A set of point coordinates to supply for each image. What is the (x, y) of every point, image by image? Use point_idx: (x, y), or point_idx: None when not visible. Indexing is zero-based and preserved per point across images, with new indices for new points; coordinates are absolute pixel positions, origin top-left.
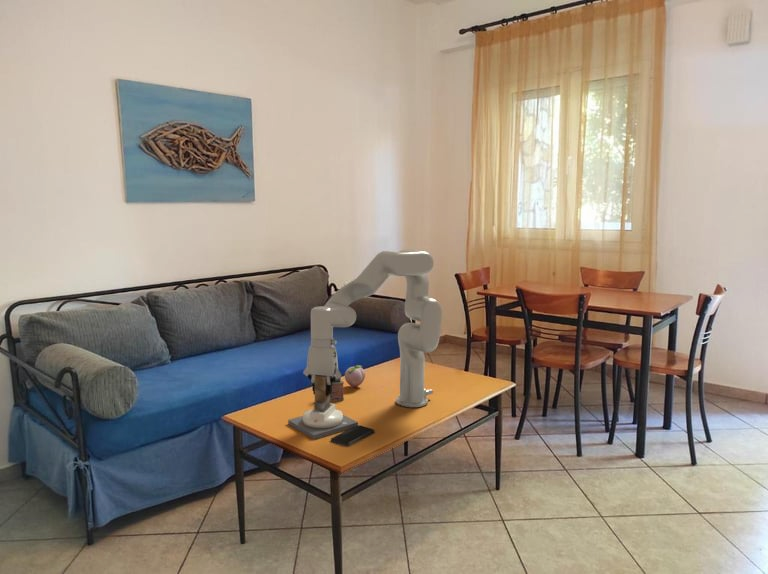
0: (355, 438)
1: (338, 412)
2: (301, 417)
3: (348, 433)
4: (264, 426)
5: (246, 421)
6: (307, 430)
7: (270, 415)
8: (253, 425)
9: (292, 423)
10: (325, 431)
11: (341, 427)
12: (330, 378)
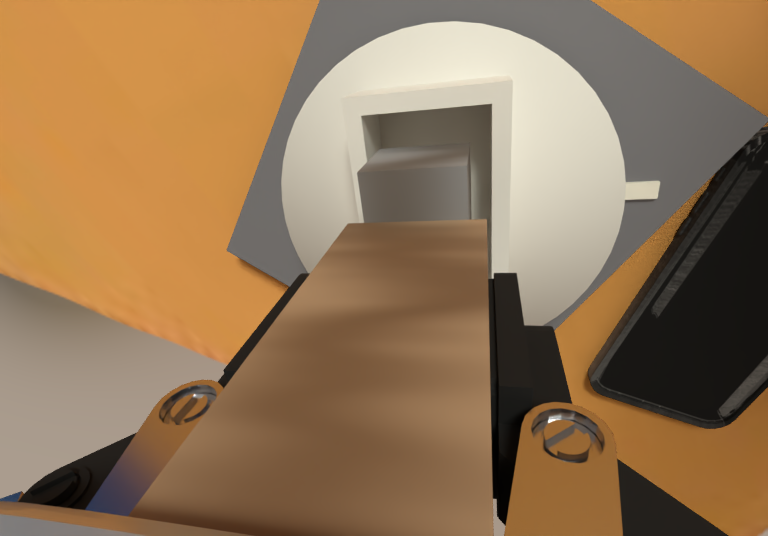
0: (764, 349)
1: (558, 107)
2: (271, 189)
3: (694, 293)
4: (166, 302)
5: (53, 273)
6: None
7: (65, 157)
8: (117, 305)
9: (277, 273)
10: None
11: (627, 256)
12: (554, 527)
